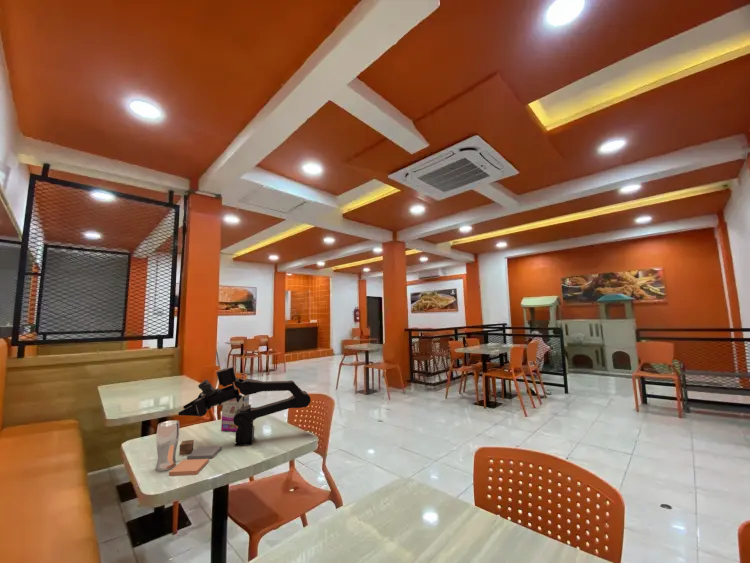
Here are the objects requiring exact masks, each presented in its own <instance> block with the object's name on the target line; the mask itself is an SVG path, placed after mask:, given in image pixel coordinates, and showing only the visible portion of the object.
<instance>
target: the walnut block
mask: <svg viewBox="0 0 750 563" xmlns="http://www.w3.org/2000/svg"><path fill="white" fill-rule="evenodd" d="M194 441H195V440H194V439H189V440H188V439H187V440H182V441H181V443H180V444H179V452H178V453H179V455H178V456H185V455H187V456H188V455H189V454H191V453H192V452H193V451H194Z"/></svg>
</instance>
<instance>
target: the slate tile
mask: <svg viewBox="0 0 750 563" xmlns="http://www.w3.org/2000/svg"><path fill="white" fill-rule="evenodd" d="M222 447H223V445H204V446H198V447H196V448H195V449H193V451H192V453H191V454H187V457H186V458H187V459H186V460H193V459H209V460H211V459H213V458H215V456H216V455H217V454H218V453H220V451H221V450H222V449H223V448H222Z"/></svg>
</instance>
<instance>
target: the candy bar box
mask: <svg viewBox="0 0 750 563" xmlns="http://www.w3.org/2000/svg"><path fill="white" fill-rule="evenodd" d="M239 394H240V395H242V398H241V399H240V400H239V402H237V400H236V398H235V399H232V400H229V401H226V402H224V403H222V404H221V427H220V428H221V432H231V433H233V432H235V433H236V432H237V428H238V426H236V425H235V424H234V422H233V419H234V415H235V413H236V411H237V410H238V409H241V407H245V406H247V405H250V403H249V402H250V395H243V394H241V393H240V392H239Z"/></svg>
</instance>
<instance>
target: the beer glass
mask: <svg viewBox="0 0 750 563" xmlns="http://www.w3.org/2000/svg"><path fill="white" fill-rule="evenodd" d="M179 440H180V421H179V420H175V419H173V420H166V421H162V422H160V423H158V424H157V429H156V437H155V445H156V446H155V447H156V451H157V452H156V453H157V462H156V464H155V465H156V466H155V471H157V472H165V471H170V470H172V469H173V468H174V467H175V466H177V461H176V459H177V458H176V452H177V448H178V444H179Z"/></svg>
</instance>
